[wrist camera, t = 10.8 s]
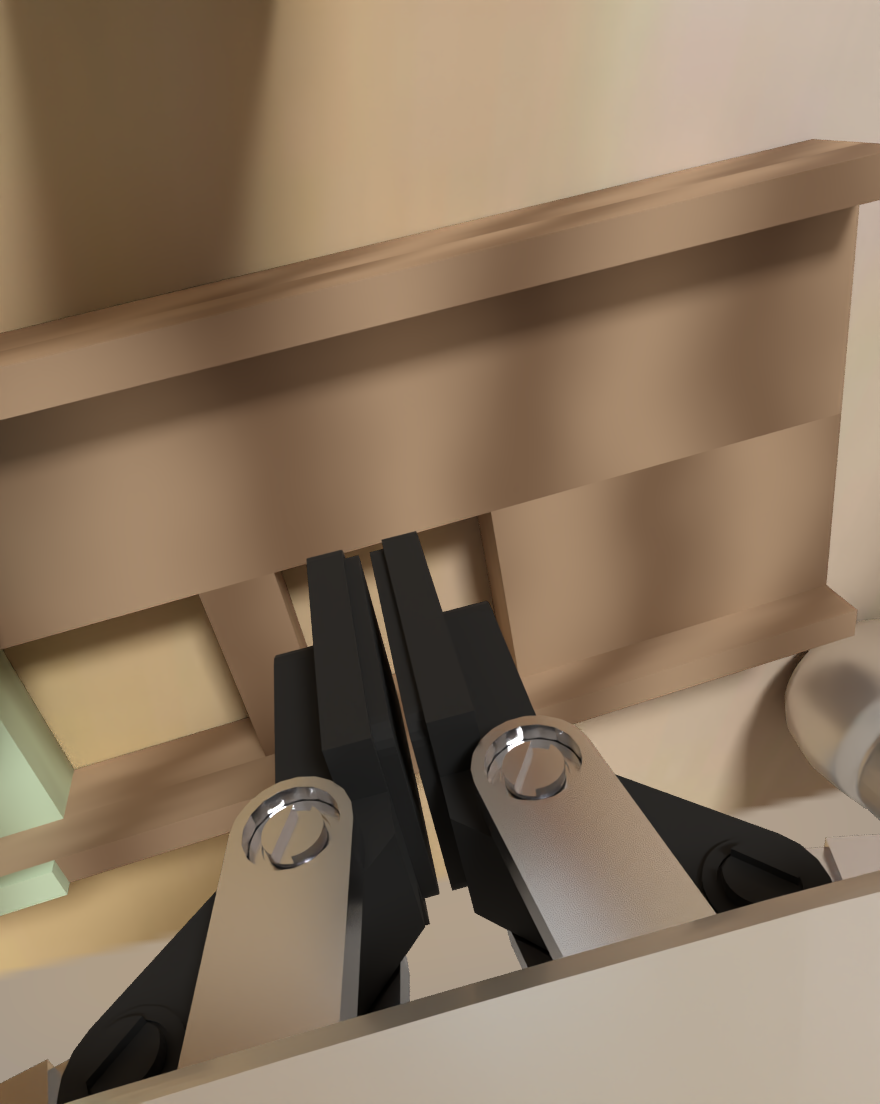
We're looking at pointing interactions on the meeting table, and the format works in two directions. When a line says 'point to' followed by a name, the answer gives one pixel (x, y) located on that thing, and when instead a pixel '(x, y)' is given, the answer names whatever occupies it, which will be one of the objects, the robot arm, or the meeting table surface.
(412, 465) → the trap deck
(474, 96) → the meeting table surface
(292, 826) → the robot arm
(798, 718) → the plastic bottle
